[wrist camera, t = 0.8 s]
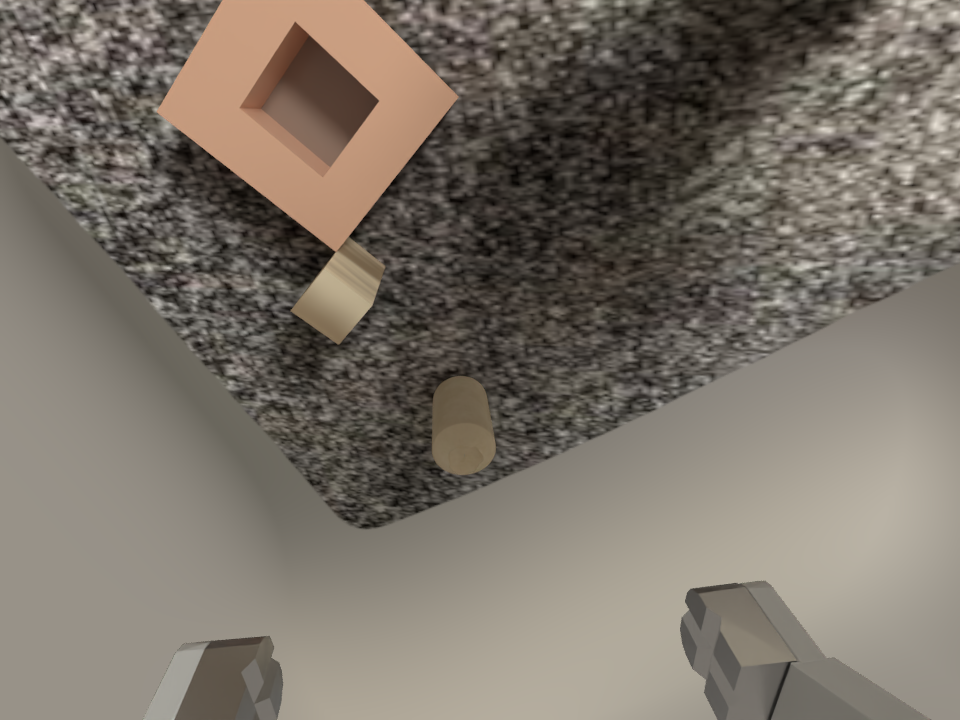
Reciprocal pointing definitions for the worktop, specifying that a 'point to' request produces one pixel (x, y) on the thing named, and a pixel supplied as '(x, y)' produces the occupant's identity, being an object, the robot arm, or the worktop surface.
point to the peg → (341, 291)
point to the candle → (462, 426)
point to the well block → (308, 105)
